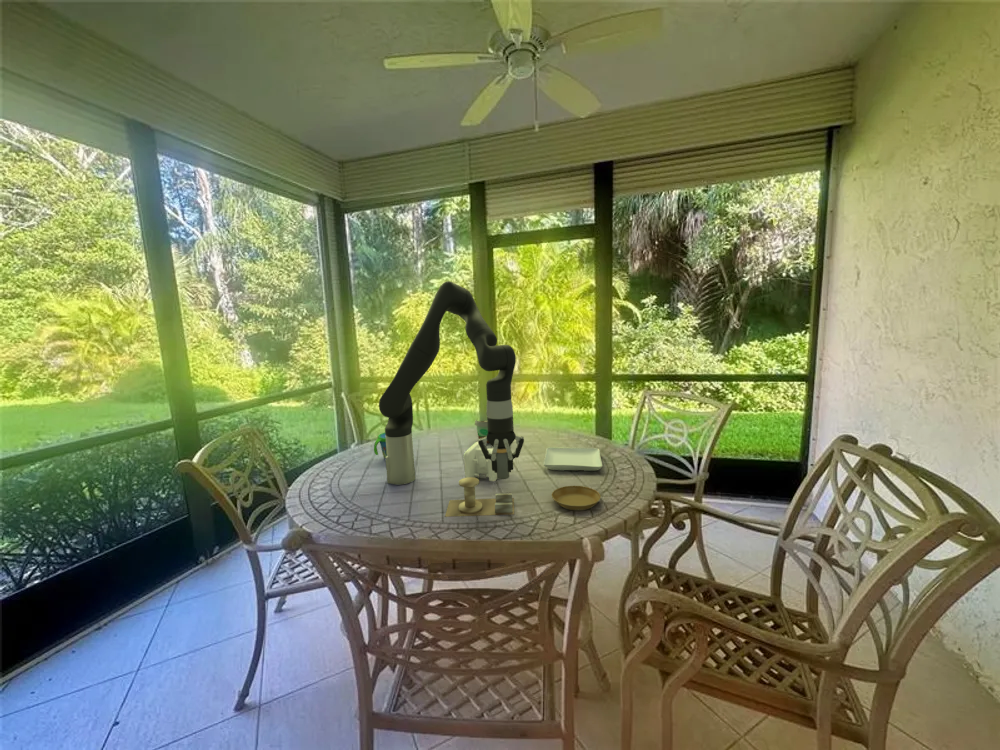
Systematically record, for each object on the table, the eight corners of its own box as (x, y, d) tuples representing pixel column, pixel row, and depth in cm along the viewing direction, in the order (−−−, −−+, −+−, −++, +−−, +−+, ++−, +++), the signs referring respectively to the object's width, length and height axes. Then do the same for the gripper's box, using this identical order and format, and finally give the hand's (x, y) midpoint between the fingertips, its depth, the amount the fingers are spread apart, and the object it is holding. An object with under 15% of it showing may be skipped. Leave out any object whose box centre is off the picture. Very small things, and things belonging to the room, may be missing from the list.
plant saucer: (567, 489, 143) (567, 481, 143) (609, 500, 134) (609, 492, 134) (542, 506, 132) (542, 498, 132) (586, 519, 123) (586, 510, 122)
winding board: (445, 520, 125) (444, 508, 125) (450, 503, 136) (449, 492, 135) (514, 518, 125) (514, 506, 124) (513, 501, 136) (513, 490, 135)
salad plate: (599, 455, 175) (599, 447, 175) (602, 475, 154) (602, 465, 154) (546, 454, 179) (546, 446, 178) (543, 473, 158) (542, 464, 158)
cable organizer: (493, 486, 148) (491, 453, 146) (464, 484, 151) (462, 452, 149) (505, 470, 162) (503, 440, 160) (478, 468, 165) (476, 439, 163)
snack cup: (380, 465, 173) (378, 441, 172) (370, 459, 181) (367, 435, 180) (415, 456, 183) (413, 432, 181) (404, 450, 191) (402, 428, 190)
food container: (473, 444, 196) (471, 422, 195) (475, 440, 202) (474, 419, 201) (499, 444, 194) (498, 422, 193) (502, 440, 200) (501, 419, 199)
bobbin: (457, 513, 126) (455, 486, 125) (460, 503, 133) (458, 477, 132) (481, 513, 126) (480, 485, 125) (482, 502, 133) (481, 476, 132)
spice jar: (496, 474, 130) (494, 445, 129) (510, 473, 130) (508, 444, 129) (495, 479, 126) (494, 449, 125) (510, 479, 126) (508, 449, 125)
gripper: (523, 410, 129) (526, 466, 132) (476, 412, 129) (479, 468, 132) (525, 416, 122) (527, 475, 124) (474, 418, 122) (477, 477, 124)
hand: (502, 471), depth 128 cm, fingers closed on spice jar, 3 cm apart
